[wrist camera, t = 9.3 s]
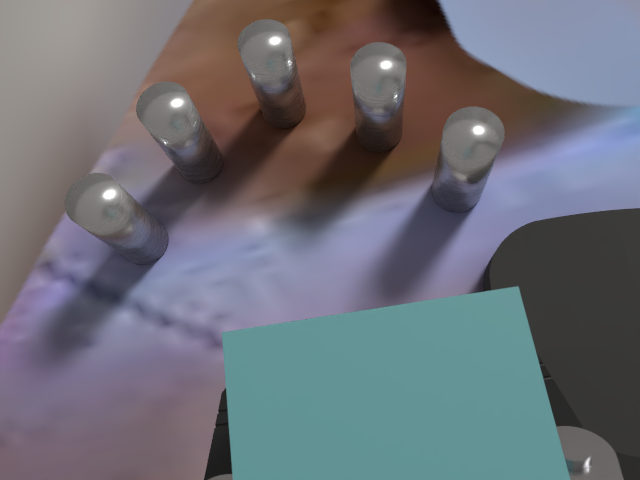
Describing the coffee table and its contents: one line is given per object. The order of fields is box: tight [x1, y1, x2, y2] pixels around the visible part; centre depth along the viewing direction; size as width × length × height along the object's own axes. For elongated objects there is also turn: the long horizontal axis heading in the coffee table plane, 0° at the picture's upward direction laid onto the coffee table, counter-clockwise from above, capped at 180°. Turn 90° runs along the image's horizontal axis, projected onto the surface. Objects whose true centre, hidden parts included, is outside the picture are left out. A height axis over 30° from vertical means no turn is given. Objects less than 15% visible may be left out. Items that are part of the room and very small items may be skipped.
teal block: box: [222, 286, 570, 480], centre depth 11 cm, size 4×4×10 cm
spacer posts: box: [65, 19, 504, 265], centre depth 33 cm, size 23×11×7 cm, turn 98°
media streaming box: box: [483, 208, 640, 457], centre depth 29 cm, size 15×15×3 cm
